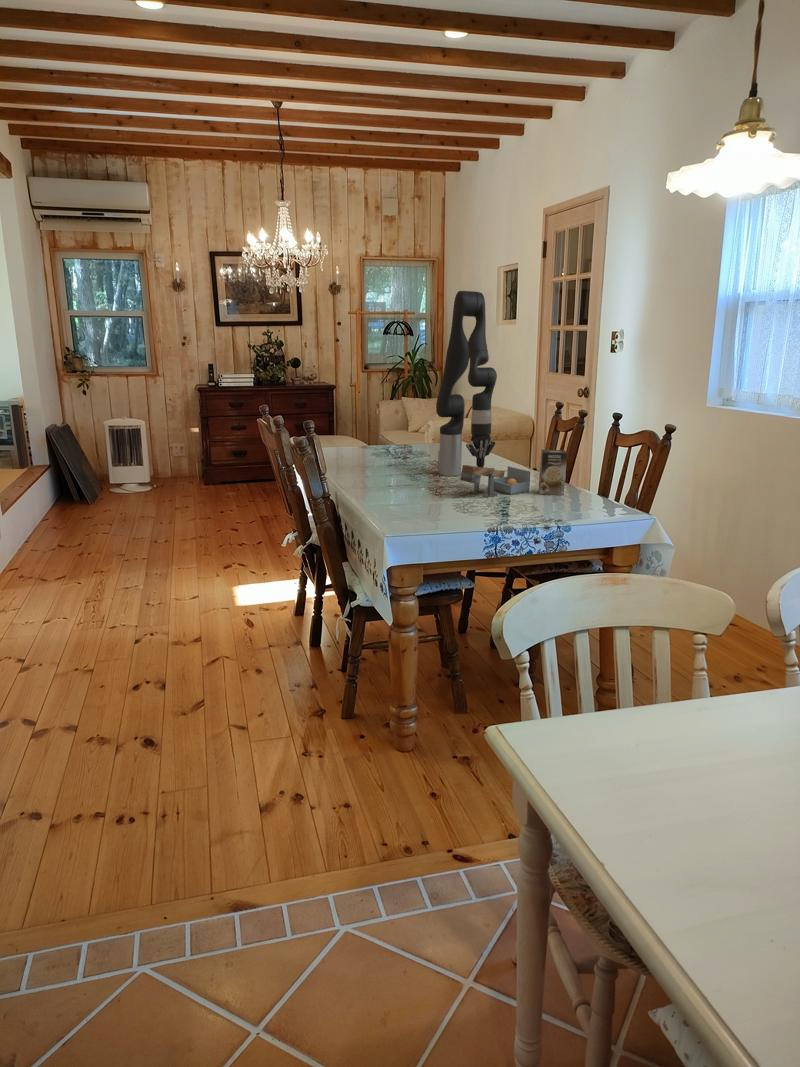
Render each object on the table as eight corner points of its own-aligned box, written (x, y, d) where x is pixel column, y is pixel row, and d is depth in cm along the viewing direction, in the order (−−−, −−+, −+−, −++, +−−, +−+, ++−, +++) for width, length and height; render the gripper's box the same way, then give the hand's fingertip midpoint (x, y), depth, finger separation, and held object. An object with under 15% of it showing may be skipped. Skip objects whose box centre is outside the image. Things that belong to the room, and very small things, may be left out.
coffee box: (539, 494, 277) (541, 452, 273) (538, 491, 283) (540, 449, 279) (564, 495, 276) (567, 452, 272) (562, 491, 283) (565, 449, 278)
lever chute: (471, 482, 269) (473, 467, 268) (446, 475, 281) (448, 461, 280) (502, 485, 277) (504, 471, 276) (476, 478, 290) (478, 464, 289)
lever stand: (487, 498, 272) (488, 474, 269) (469, 492, 280) (469, 470, 278) (497, 496, 274) (498, 473, 272) (479, 491, 283) (480, 468, 281)
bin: (510, 495, 277) (511, 473, 275) (489, 489, 287) (490, 468, 285) (529, 492, 282) (530, 471, 280) (508, 486, 292) (508, 466, 289)
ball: (514, 481, 287) (508, 489, 287) (508, 475, 285) (502, 484, 284) (521, 482, 284) (515, 491, 283) (515, 477, 282) (509, 486, 281)
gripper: (488, 419, 286) (487, 464, 291) (461, 422, 279) (460, 467, 284) (501, 421, 280) (499, 466, 285) (473, 424, 273) (472, 470, 278)
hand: (480, 467), depth 285 cm, fingers closed
